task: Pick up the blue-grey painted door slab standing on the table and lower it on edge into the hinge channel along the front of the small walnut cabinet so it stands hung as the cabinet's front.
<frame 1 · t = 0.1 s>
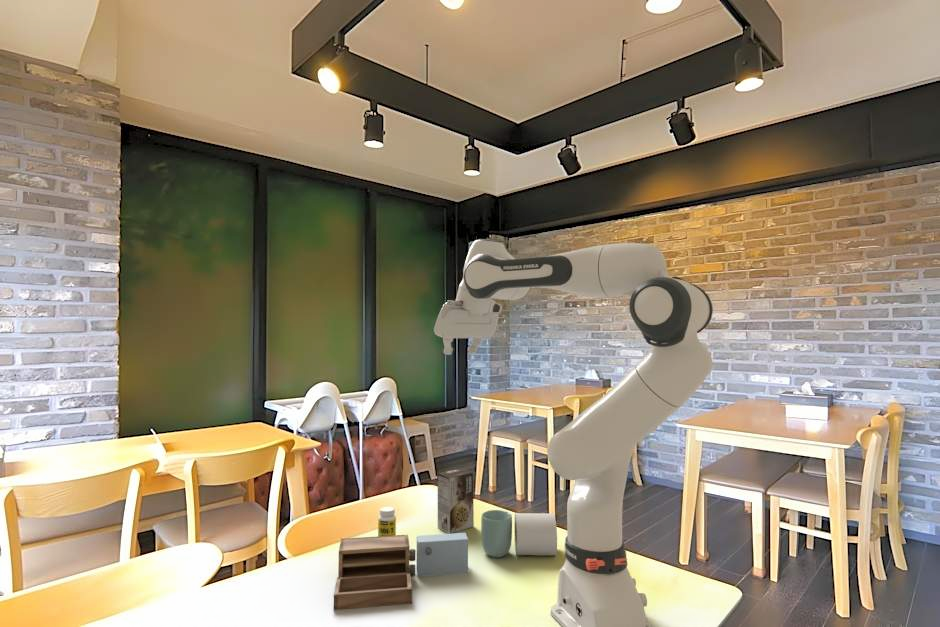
hand: (459, 353, 131), 52 cm above the table, tool tilted 20°, fingers open, 8 cm apart
coffee box: (455, 528, 150), on the table
toilet paper: (535, 554, 133), on the table
supplement bottle: (386, 540, 141), on the table
door: (442, 571, 122), on the table
cabinet: (374, 579, 118), on the table
cup: (496, 555, 132), on the table
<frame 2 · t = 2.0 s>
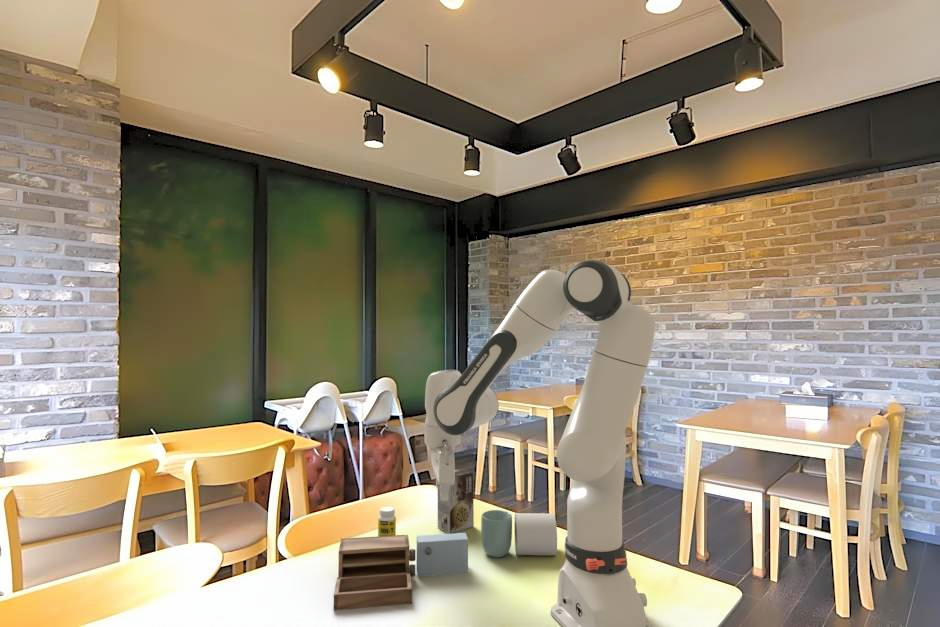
hand: (441, 493, 123), 18 cm above the table, tool pointing down, fingers open, 8 cm apart
nothing on the table moved.
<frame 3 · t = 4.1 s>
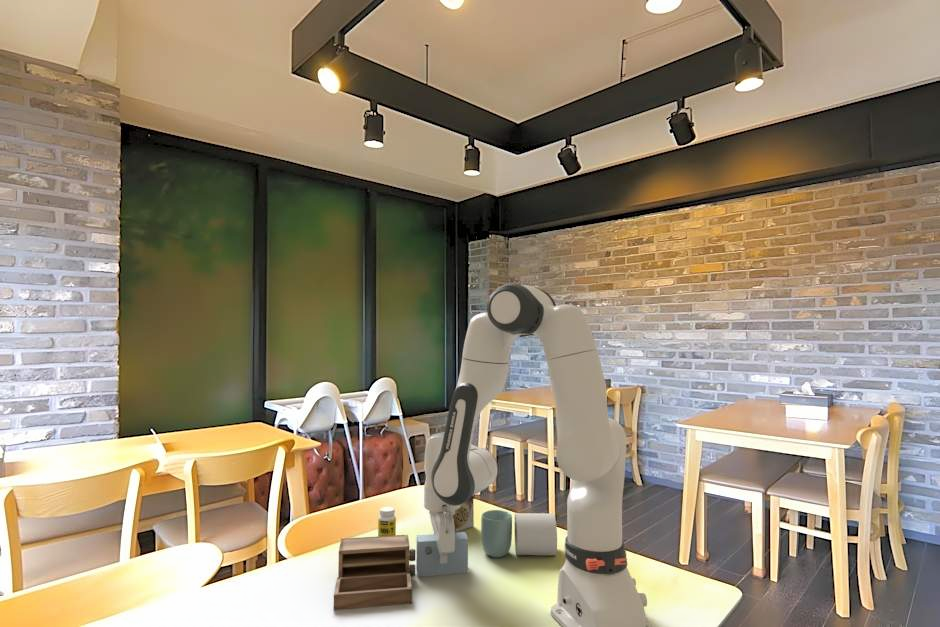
hand: (442, 557, 123), 3 cm above the table, tool pointing down, fingers closed on door, 4 cm apart
door: (441, 570, 122), on the table, touching gripper
everything else where it was.
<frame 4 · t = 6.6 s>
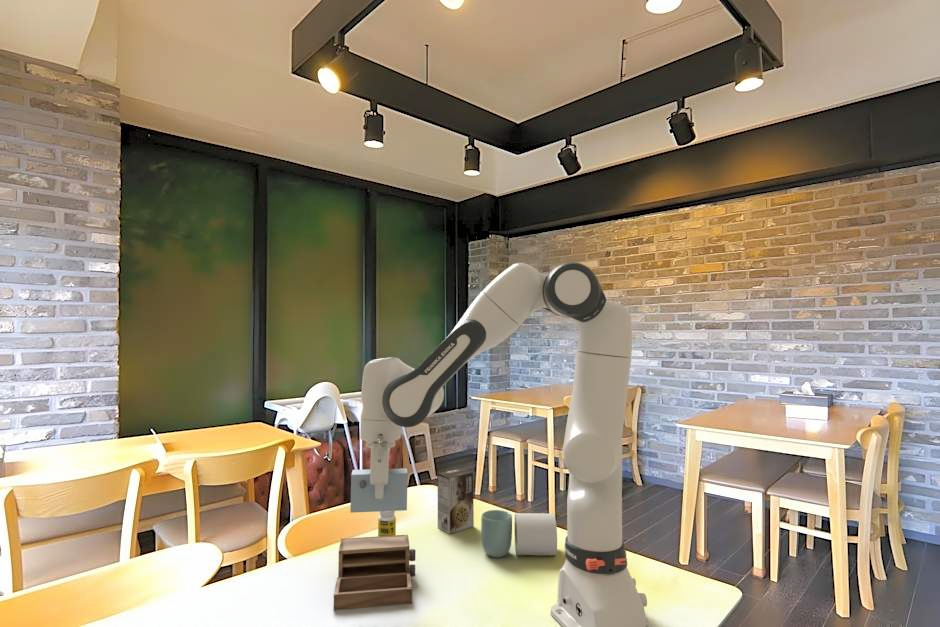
hand: (379, 493, 112), 22 cm above the table, tool pointing down, fingers closed on door, 4 cm apart
door: (379, 508, 112), point 19 cm above the table, touching gripper
everything else where it was.
when the fingers open (5 cm above the table, at t = 9.5 s): door drops 2 cm, resting in cabinet.
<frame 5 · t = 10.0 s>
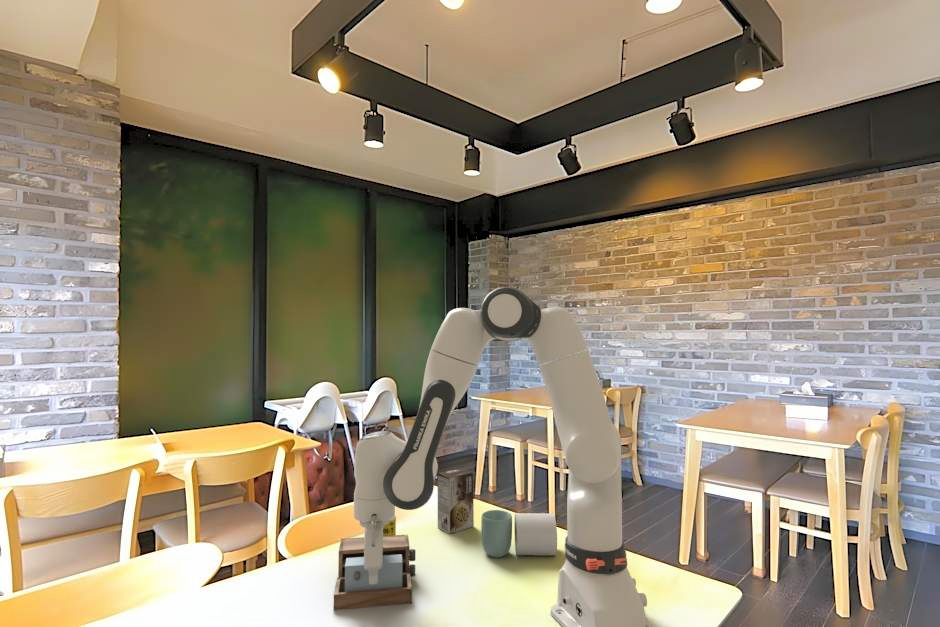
hand: (373, 572, 110), 5 cm above the table, tool pointing down, fingers open, 8 cm apart
door: (373, 597, 110), resting in cabinet
everything else where it was.
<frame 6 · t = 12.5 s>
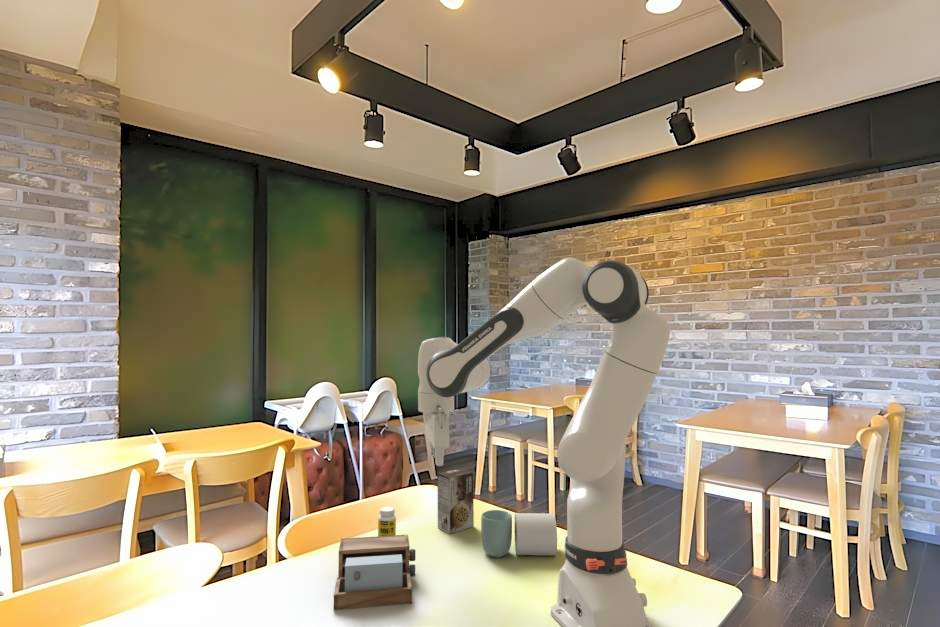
hand: (436, 460, 124), 26 cm above the table, tool pointing down, fingers open, 8 cm apart
nothing on the table moved.
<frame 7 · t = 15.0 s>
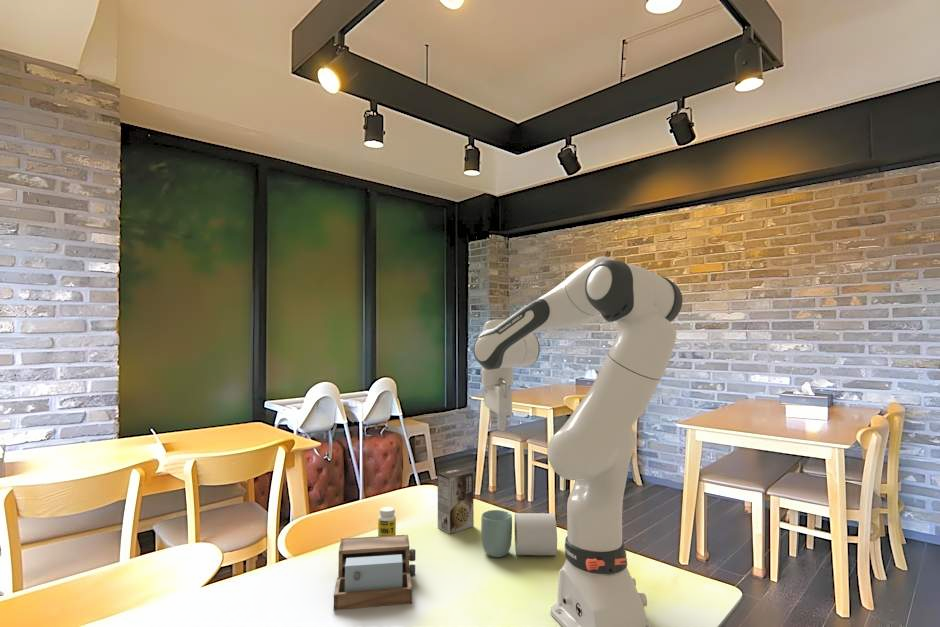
hand: (497, 427, 141), 31 cm above the table, tool pointing down, fingers open, 8 cm apart
nothing on the table moved.
at the end: door inside the target area on the cabinet (0.1 cm from its centre), point 0.0 cm above the cabinet's base; door tilted 0°; the gripper is holding nothing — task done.
